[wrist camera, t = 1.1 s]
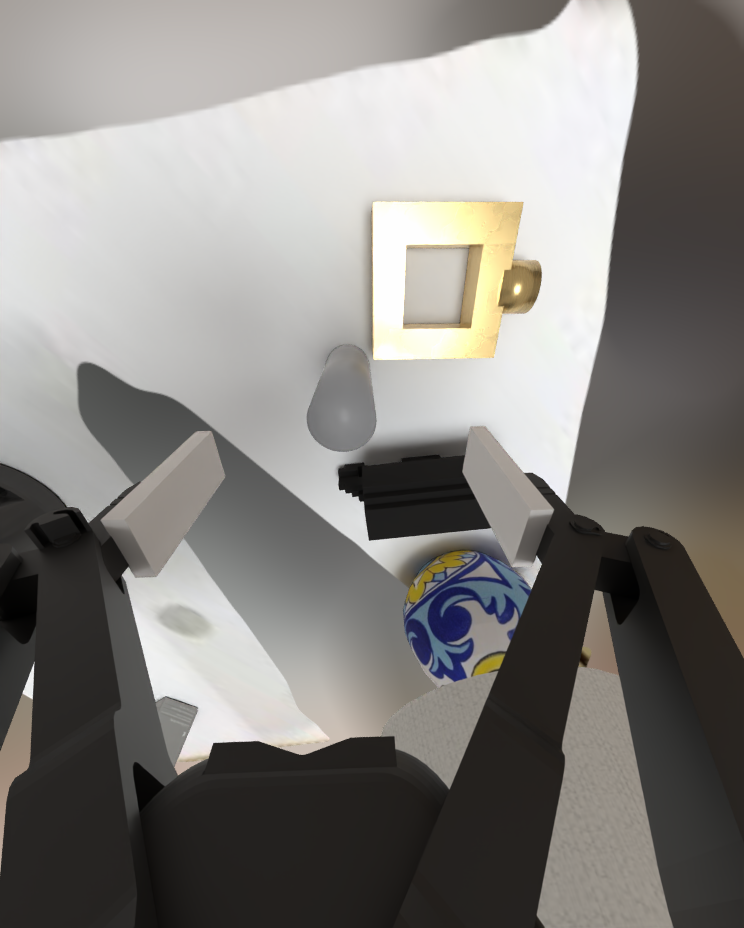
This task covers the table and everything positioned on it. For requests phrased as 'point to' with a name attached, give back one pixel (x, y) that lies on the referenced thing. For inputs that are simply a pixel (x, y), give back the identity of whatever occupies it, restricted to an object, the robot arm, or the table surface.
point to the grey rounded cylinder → (343, 402)
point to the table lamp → (584, 744)
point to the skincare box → (175, 724)
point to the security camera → (414, 497)
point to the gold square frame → (486, 285)
